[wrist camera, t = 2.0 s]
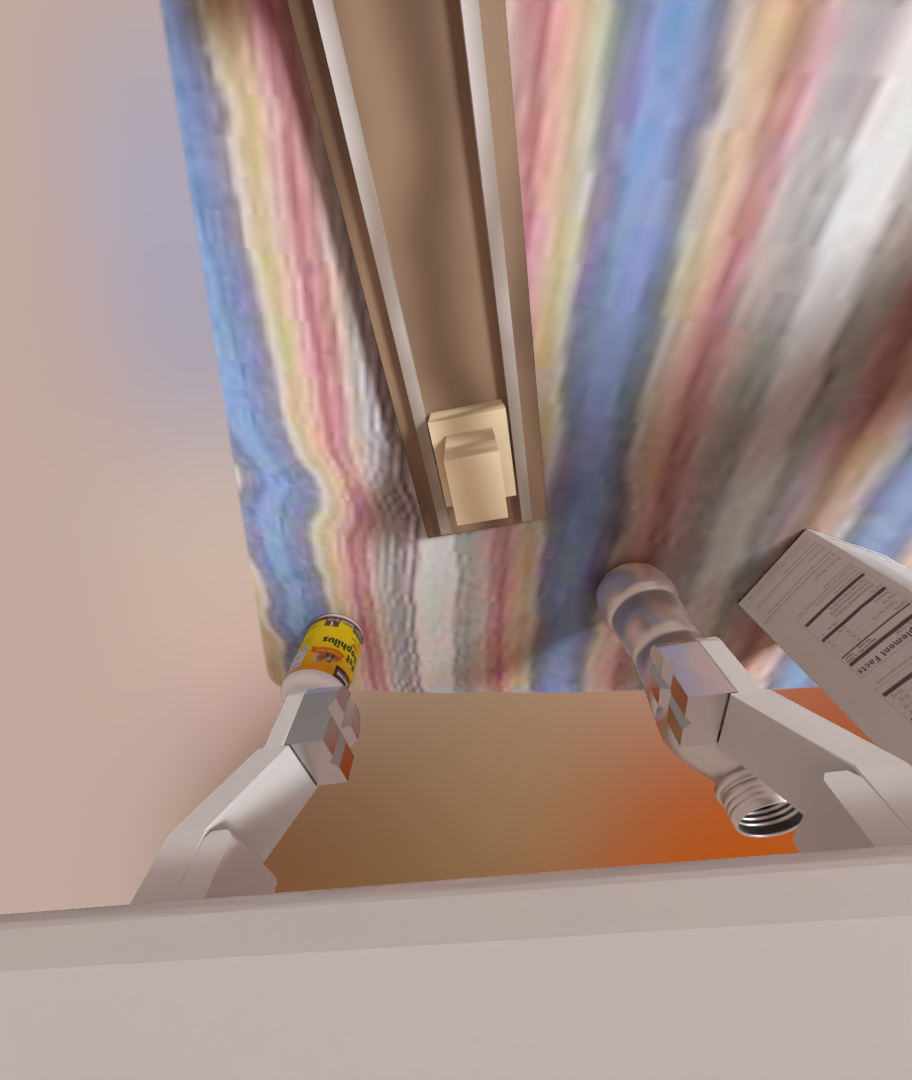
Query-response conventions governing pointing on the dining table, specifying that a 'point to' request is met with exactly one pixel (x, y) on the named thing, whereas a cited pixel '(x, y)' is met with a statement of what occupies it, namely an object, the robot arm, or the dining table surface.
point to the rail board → (433, 217)
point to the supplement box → (845, 630)
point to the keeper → (474, 460)
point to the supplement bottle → (325, 655)
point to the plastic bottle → (639, 622)
